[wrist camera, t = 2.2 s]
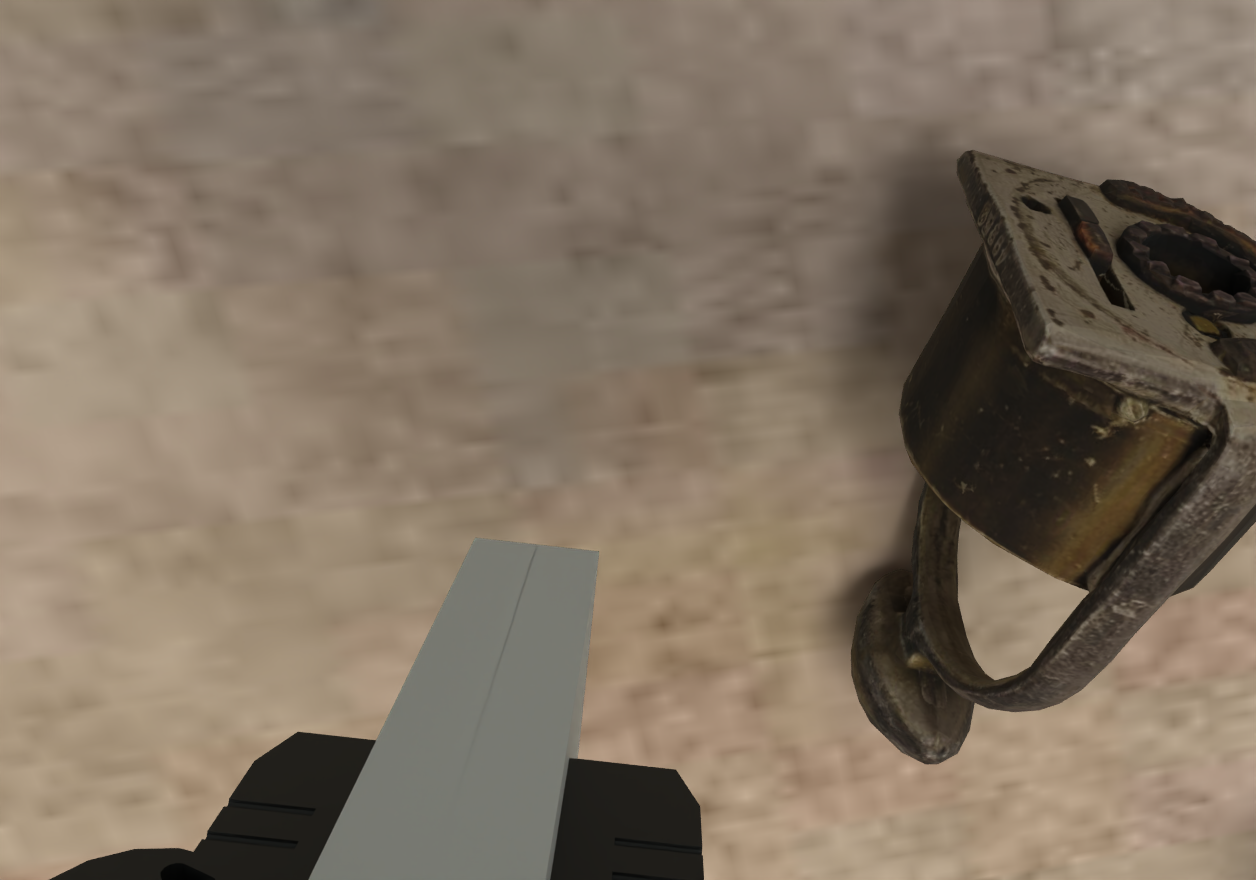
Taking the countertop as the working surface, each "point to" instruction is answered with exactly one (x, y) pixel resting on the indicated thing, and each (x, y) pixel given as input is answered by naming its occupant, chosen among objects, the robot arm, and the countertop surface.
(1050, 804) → the countertop surface
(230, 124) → the countertop surface
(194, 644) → the countertop surface
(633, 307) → the countertop surface
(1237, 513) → the dark metal piece
